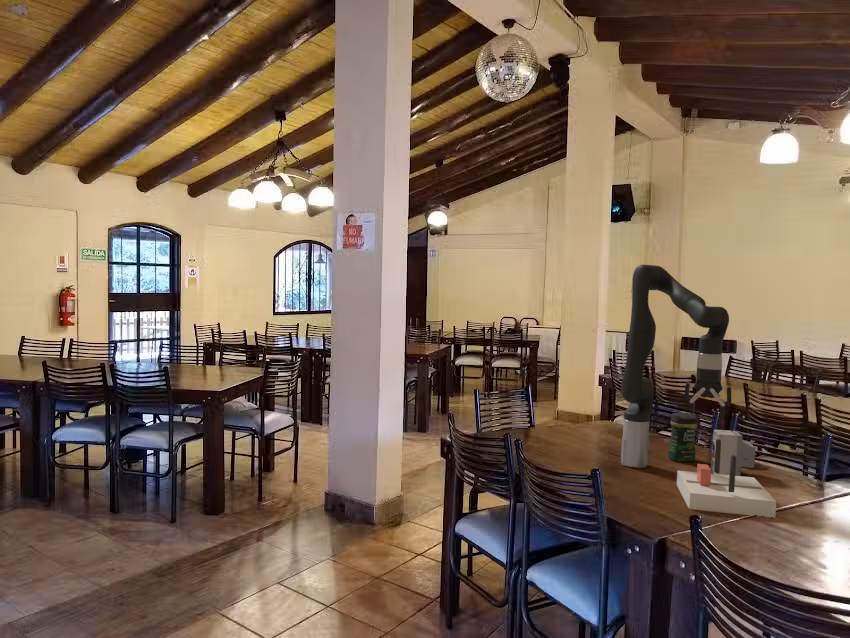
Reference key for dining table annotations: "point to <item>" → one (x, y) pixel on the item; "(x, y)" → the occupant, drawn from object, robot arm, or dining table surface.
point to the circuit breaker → (733, 451)
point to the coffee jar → (682, 437)
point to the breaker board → (726, 495)
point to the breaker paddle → (703, 474)
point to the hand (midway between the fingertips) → (706, 415)
